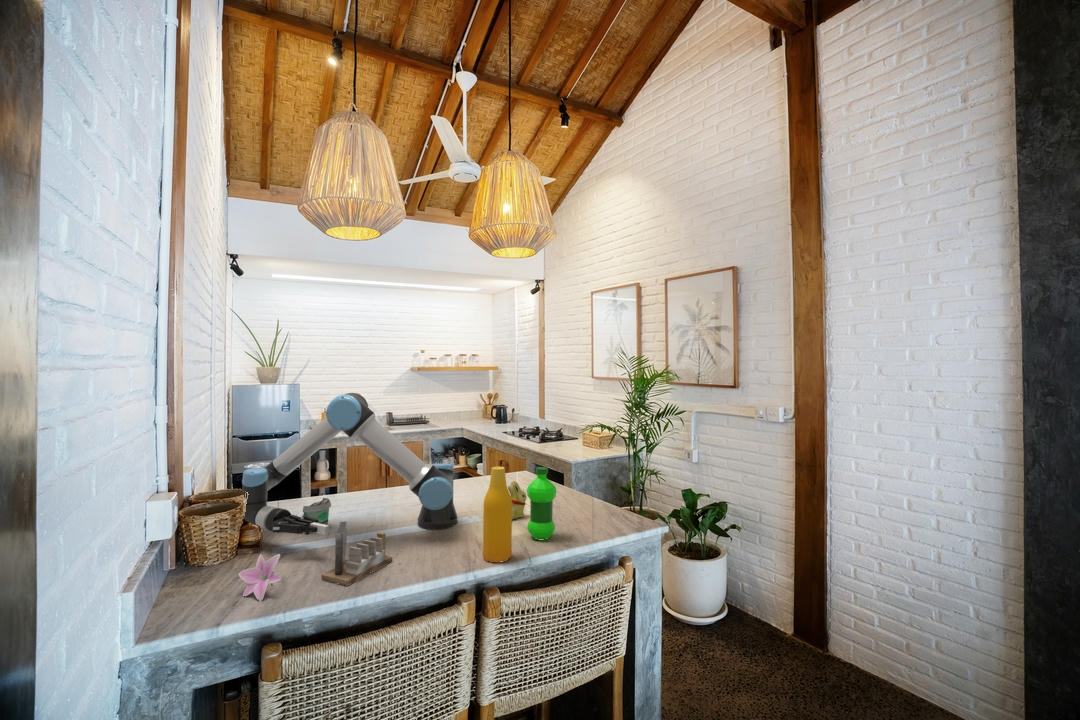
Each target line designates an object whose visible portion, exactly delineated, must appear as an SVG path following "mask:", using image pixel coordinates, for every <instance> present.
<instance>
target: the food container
mask: <svg viewBox="0 0 1080 720" xmlns="http://www.w3.org/2000/svg"><path fill="white" fill-rule="evenodd" d="M331 507H332V503H331V499H330V498H327V497H322V500H320V501H317V502H313V503H312V504H310V505H303V508H302V513H303V514H307V515H308V516H310V517H313V518H315V519H318V520H319V524H324V525H328V523H329V515H330V508H331Z"/></svg>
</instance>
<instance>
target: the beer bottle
mask: <svg viewBox="0 0 1080 720" xmlns="http://www.w3.org/2000/svg"><path fill="white" fill-rule="evenodd" d="M489 481H490V482H489V487H488V490H487V492H486V493H485V496H484V498H483V530H482V531H483V533H482V535H483V536H482V537H483V538H482V539H483V541H482V544H483V545H482V557H483V560H484V561H486V560H487V561H486V562H488V561H491V562H490V563H492V562H500V561H505V560H507V559H509V558H510V557H512V552H513V551H512V548H513V547H512V542H513V541H512V537H513V536H512V531H513V530H512V526H513V525H512V523H513V519H512V499H511V494H510V492H509V490H508V486H507V477H506V468H505V467H504V466H493V467H491V473H490V480H489ZM510 559H511V558H510ZM510 559H509V560H510Z"/></svg>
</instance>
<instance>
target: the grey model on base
mask: <svg viewBox="0 0 1080 720" xmlns="http://www.w3.org/2000/svg"><path fill="white" fill-rule="evenodd" d="M386 535H387V534H386V533H385V532H377V533H376V536H371V537H370V540H369V539H364V540H363V543H361V542H358V543H356V547H355V546H348V547H349V548H348V561H346V562H344V565H343V533H337V532H336V533H335V538H334V539H335V545H334V548H335V549H334V568H332V569H330V570H328V571H325V572H324V573H322V574H321V579H322V580H321V581H324V580H326V581H325V582H328V581H330V582H329V583H332V582H334V583H333V584H336V583H339V584H338V585H340V584H343V585H342V586H344V585H348V584H350V583H352V582H354V581H356V580H357V581H359V580H361V579H362V578H361V577H363V576H365V575H367V574H368V575H370V574H371V573H370V572H372V571H374V570H376V569H377V570H379V569H381V568H382V567H381V566H383V565H385V564H387V563H388V564H390V563H391V562H390V561H392V562H393V556H391V555H386V538H387V537H386ZM389 562H390V563H389ZM388 564H387V565H388ZM342 566H343V570H342ZM385 566H386V565H385ZM380 567H381V568H380ZM383 567H384V566H383ZM378 568H379V569H378ZM377 570H376V571H377ZM374 572H375V571H374ZM369 573H370V574H369ZM372 573H373V572H372ZM368 575H367V576H368ZM365 577H366V576H365ZM360 578H361V579H360ZM363 578H364V577H363ZM358 579H359V580H358ZM357 581H356V582H357ZM354 583H355V582H354ZM352 584H353V583H352ZM350 585H351V584H350ZM348 586H349V585H348Z"/></svg>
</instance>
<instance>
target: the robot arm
mask: <svg viewBox="0 0 1080 720" xmlns="http://www.w3.org/2000/svg"><path fill="white" fill-rule="evenodd" d="M341 432H343V433H344V434H345V435H346V436H347V437H348V438H350V439H358V440H359V441H361V443H363V444H364V445H365V446H366V447H367V448H368V449H370V450H371V452H373V453H374V454H375V455H376V456H378V458H380V460H382V461H383V462H384V463H386V464H387V465H388V466H389V467H390V468H391V469H392V470H394V471H395V472H396V473H397V474H398V475H399V476H401V478H402V479H404V480H405V481H406V482H407V483H408V484H409V485H408V486H409V487H408V488H409V491H411V492H412V493H413V494H414V495H415V496H416V497H417V498H418V500H419V502H420V503H421V505H422V506H421V508H420V511H419V515H418V516H417V526H418V527H419V528H422V529H426V530H444V529H450V528H452V527H455V526H456V525H457V524H458V522H459V521H458V518H459V517H458V513H457V511H456V507H455V505H454V504H455V503H454V473H455V469H454V465H453V463H443V462H442V463H425V462H424V461H423V460H422V459H420V457H418V456H417V455H416V454H415V453H414V452H413V451H411V449H409V448H408V446H406V445H405V444H404V443H402V441H400V440H399V439H398V438H397V437H396V436H394V435H393V434H392V433H391V432H390V431H389V430H388V429H387V428H385V427H384V425H382V424H381V423H380V422H379V421H378V420H376V413H375V412H374V411H373V410H372V409H371V408H370V407H369V404H368V401H367V400H366V398H365V397H364V396H363V395H361V394H359V393H357V392H349V393H345V394H341V395H338V396H336V397H334V398H333V399H332V400H331V401H330V402H329V404H328V405H327V407H326V409H325V417H324V418H323V419H322V420H321V421H319V423H318V424H315V426H314V427H312V428H311V429H310V430H308V431H307V432H306V433H305V434H304V435H303V436H301V437H300V438H299V439H298V440H296V441H295V442H293V444H291V445H290V446H289V447H288V448H287V449H285V451H283V452H282V453H280V455H278V456H277V457H275V459H273V460H272V461H271V462H270V463H268V464H267V465H266V466H264V467H252V468H247V469H245V470H244V471H243V473H242V479H241V484H242V487H241V489H242V491H241V492H242V493H241V496H242V495H244V497H245V493H246V492H248V494H249V495H248V499H247V504H246V512H245V517H244V519H245V521H247V522H249V523H252V524H255V525H258V526H260V528H261V529H260V530H265V531H266V532H273V533H277V534H278V533H285V534H295V535H296V534H297V535H298V534H299V535H302V534H303V533H304V535H305V536H308V535H310V533H309V532H312V533H313V534H317V535H322V536H328V535H329V534H330V525H324V524H319V520H318V519H315V518H313V517H310V516H308V515H307V514H304V513H303V514H302V515H301V516H299V515H295V514H292V513H291V512H290V511H289V509H286V508H281V507H276V506H269V505H268V491H269V490H271V489H272V488H274V487H276V486H277V485H279V484H280V483H281V482H282V481H283V480H284V479H285V478H286V477H287V476H289V475H290V474H291V473H292V472H293V471H294V470H296V469H297V468H298V467H299V466H301V465H302V464H303V463H305V462H306V461H307V460H308V459H309V458H310V457H311V456H313V455H314V454H315V453H317V452H318V451H319V450H320V449H321V448H323V447H324V446H325V445H327V444H328V443H329V442H330V441H331V440H333V438H335V437H336V436H337V435H338V434H340V433H341ZM243 491H246V492H243ZM243 493H244V494H243ZM246 498H247V493H246ZM454 525H455V526H454ZM449 527H450V528H449ZM312 533H311V534H312Z"/></svg>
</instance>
